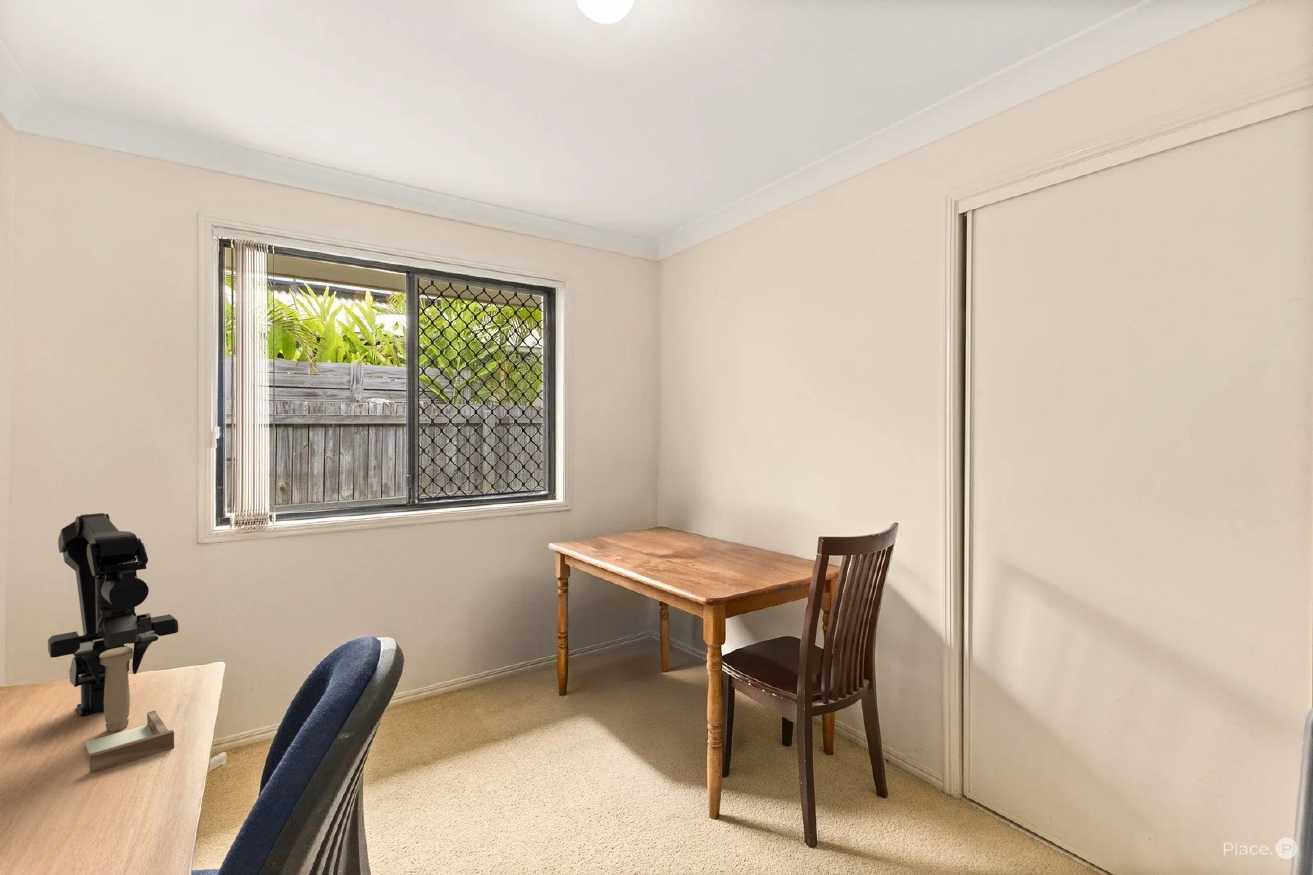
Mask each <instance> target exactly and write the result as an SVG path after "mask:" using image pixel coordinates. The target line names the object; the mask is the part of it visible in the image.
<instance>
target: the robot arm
mask: <svg viewBox="0 0 1313 875" xmlns="http://www.w3.org/2000/svg"><path fill="white" fill-rule="evenodd" d="M57 540H58V541H57V546H58V552H59V553H62V555H63V562H64V563H65V564H66V565H68V567H70V568H71V569H72V570H73V571H75V577H76V585H77V592H78V601H79V610H80V615H81V616H80V618H81V625H82V633H83V634H82V635H79V633H78V631H70V632H66V633H61V634H60V633H59V634H54V635H51V636H50V637H49V638H48V640H47V651H48V654H49V657H50V658H52V659H53V658H59V657H63V656H64V657H65V656H69V655H73V657H72V660H71V663H70V668H69V672H68V673H69V674H68V675H69V682H70V683H71V685H72V686H73V687H74V688H76V687H79V686H80V703H78V704H77V705H76V708H77V712H78V713H79V716H80V717H83V716H88V715H91V714H95V713H99V712H104V688H105V666H104V665H101V664H100V663H99V656H100V654H101V653H103V652H105V651H107V650H110V649H114V648H120V647H128V646H127V644H129V645H131V644H133V657H132V663H131V664H132V665H131V667H132V668H131V669H132V674H133V675H137V672H138V670H139V668H140V665H141V662H142V661H143V658H144V655H145V653H146V651H147V649H148V648H149V646H150V645H151V644H153V642H156V641H158V640H159V637H163V636H167V635H168V636H169V635H173V634H177V633H179V620H177V619H176V617H174V616H173V615H171V614H170V613H169V614H165V615H164V614H163V615H159V616H154V617H152V615H151V613H150V612H149V613H143V614H137V613H136V611H135V610H136V609H135V608H136V607H138V606H140V605H141V604H143V602H144V601H146V599H147V597H148V596H149V592H150V590H149V586H148V584H147V583H146V582H145V580H142V579H141V578H139V577H138V576H137V575H138V574H137V571H141V570H147V564H148V563H149V558H148V554H147V551H146V547H145V544H144V542H142V539H141V538H140V537H139V538H138V536H137V535H136V533H134V532H131V531H125V530H124V531H122V530H119V528H117V527H116V526H115V525H114V523H113V522H112V521H111V520H110V515H109V513H103V512H100V513H88V514H87V513H86V514H80V515H78V516H76V517H75V520H74V521H73V522H71V523H69V524H68V525H66V526H64V527H63V528H61V530H60V532H59V536H58V539H57ZM130 661H131V659H130V660H129V661H128V662H127V668H128V672H129V671H130Z"/></svg>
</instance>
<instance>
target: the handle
mask: <svg viewBox="0 0 1313 875" xmlns="http://www.w3.org/2000/svg"><path fill="white" fill-rule="evenodd" d="M133 650H134V648H133V647H130V646H127V647H120V648H114V649H110V650H107V651H105V652H103V653H101V654H100V656H99V663H100V664H101V665H104V666H105V688H104V710H103V713H104V714H103V715H104V721H105V729H106V731H110V732H112V733H113V732H115V731H120V730H123V729H124V728H126V727H127V726H128V725H129V720H130V719H129V716H130V709H131V708H130V706H131V704H130V703H131V700H130V699H131V691H130V684H129V682H130V681H129V671H128V668H127V662H128V661H129V660H130V661H131V660H133ZM130 661H129V662H130Z"/></svg>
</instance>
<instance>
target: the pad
mask: <svg viewBox="0 0 1313 875" xmlns="http://www.w3.org/2000/svg"><path fill="white" fill-rule="evenodd" d="M149 736H153V733H152V731H151V730H150V728H149V726H148V725H147V724H145V725H141V726H138V727H134V728H131V729H126V730H124V731H123V730H122V731H120V732H116V733H112V734H110V735H105V736H103V737H102V736H101V737H99V738H96V739H90V740H89V741H88V740H87V741H85V744H84V745H85V748H86V751H87V753H88V756H89V757H90V754H92V753H95V752H98V751H102V750H105V749H109V748H112V747H115V746H119V745H122V744H125V743H129V742H132V741H136V740H139V739H142V738H146V737H149Z"/></svg>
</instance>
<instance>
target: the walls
mask: <svg viewBox="0 0 1313 875" xmlns="http://www.w3.org/2000/svg"><path fill="white" fill-rule="evenodd" d="M146 715H147V716H146V718H147V719H146V720H147V721H146V722H147V724H146V725H148V726H149V728H150V730H151V731H152V733H153V736H149V737H146V738H142V739H139V740H136V741H132V742H129V743H125V744H122V745H119V746H115V747H112V748H109V749H105V750H102V751H98V752H95V753H92V754H90V756H89V772H90V774H91V775H92V774H95V773H98V772H101V771H104V770H108V769H111V768H114V767H117V766H120V765H123V764H127V763H130V762H134V761H137V760H140V759H143V758H146V757H150V756H152V755H157V754H159V753H162V752H165V751H168V750H169V751H170V750H171V749H174V748H175V731H174V730H173V729H168V728H167V726H166V724H165V723H164V722H163V720H162V718H161V717H160V716H159V714H158V713H157V711H156V710H152V711H148V712H147V713H146Z"/></svg>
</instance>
